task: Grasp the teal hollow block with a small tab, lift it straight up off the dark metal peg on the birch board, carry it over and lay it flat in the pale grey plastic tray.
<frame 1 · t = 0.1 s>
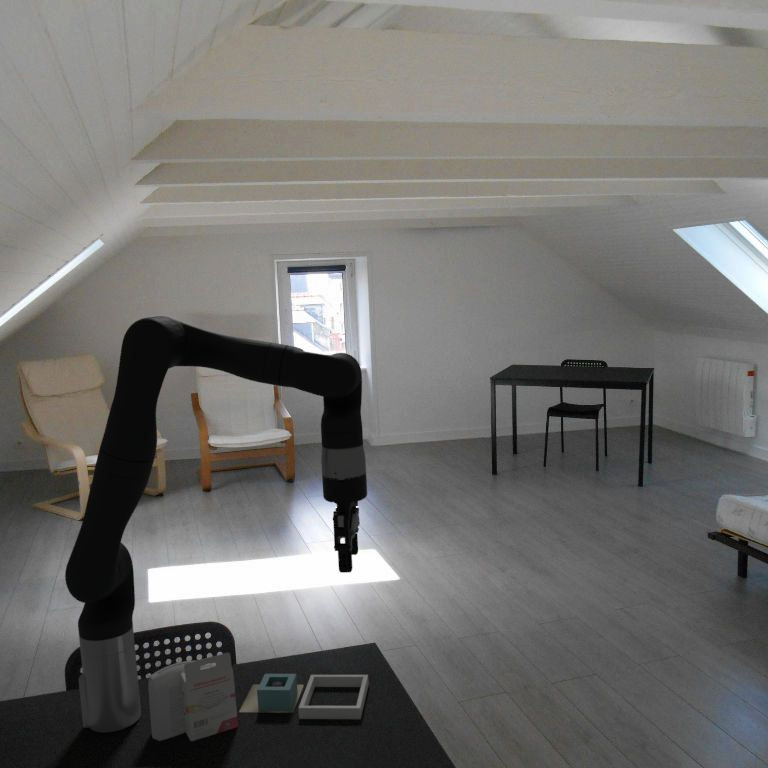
hand: (349, 562, 138), 29 cm above the table, tool pointing down, fingers open, 8 cm apart
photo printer: (181, 732, 141), on the table, touching ink cartridge box
teal hollow block: (278, 702, 147), point 1 cm above the table, touching peg board
ink cartridge box: (211, 733, 140), on the table, touching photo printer
tray: (335, 706, 147), on the table
peg board: (272, 703, 149), on the table
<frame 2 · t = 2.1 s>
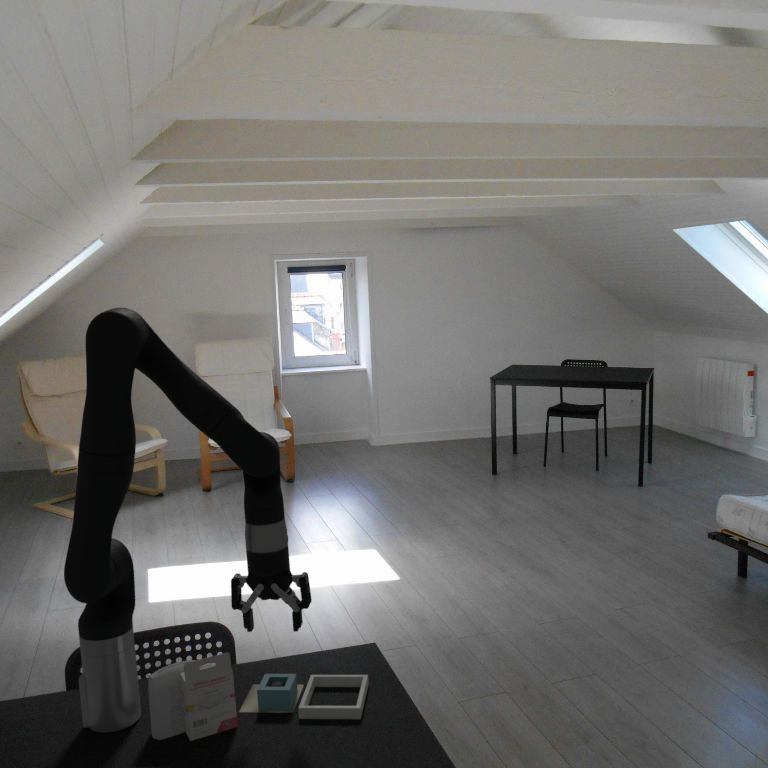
hand: (273, 630, 146), 15 cm above the table, tool pointing down, fingers open, 8 cm apart
nothing on the table moved.
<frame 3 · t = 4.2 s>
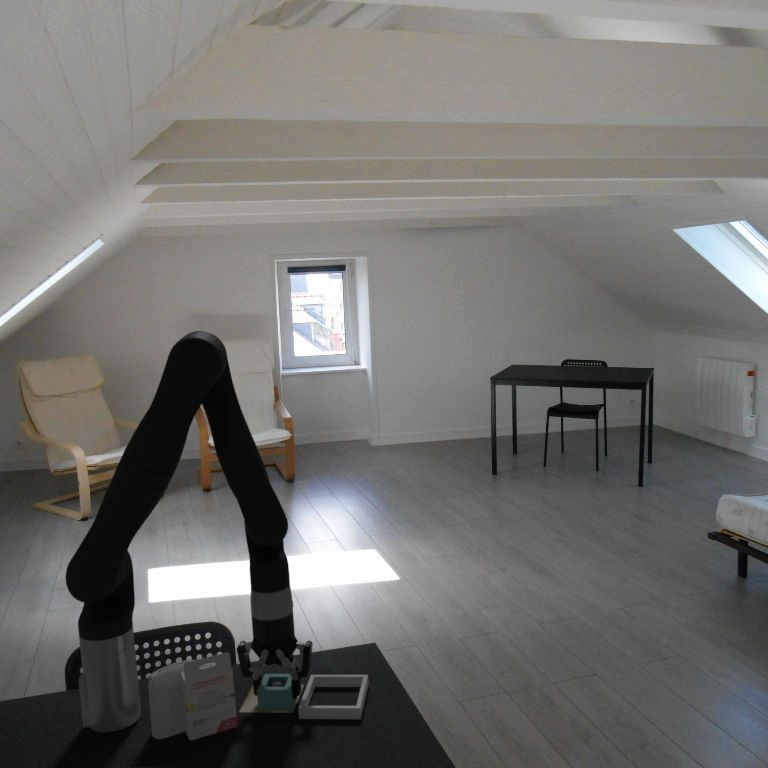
hand: (278, 696, 147), 2 cm above the table, tool pointing down, fingers closed on teal hollow block, 6 cm apart
teal hollow block: (278, 702, 147), point 1 cm above the table, touching gripper, peg board
everything else where it was.
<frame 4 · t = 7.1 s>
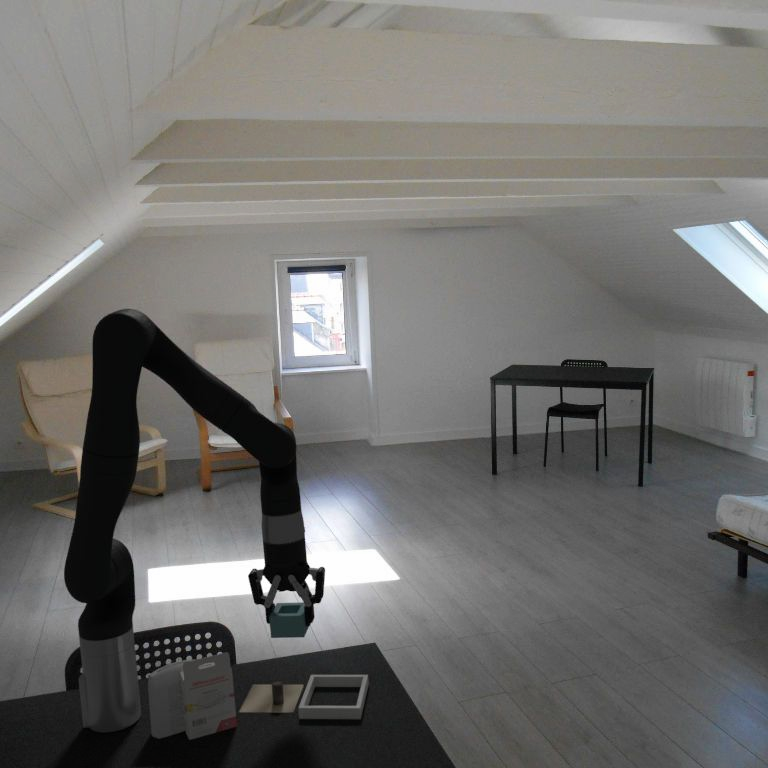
hand: (291, 624, 145), 16 cm above the table, tool pointing down, fingers closed on teal hollow block, 6 cm apart
teal hollow block: (291, 630, 145), point 15 cm above the table, touching gripper
everything else where it was.
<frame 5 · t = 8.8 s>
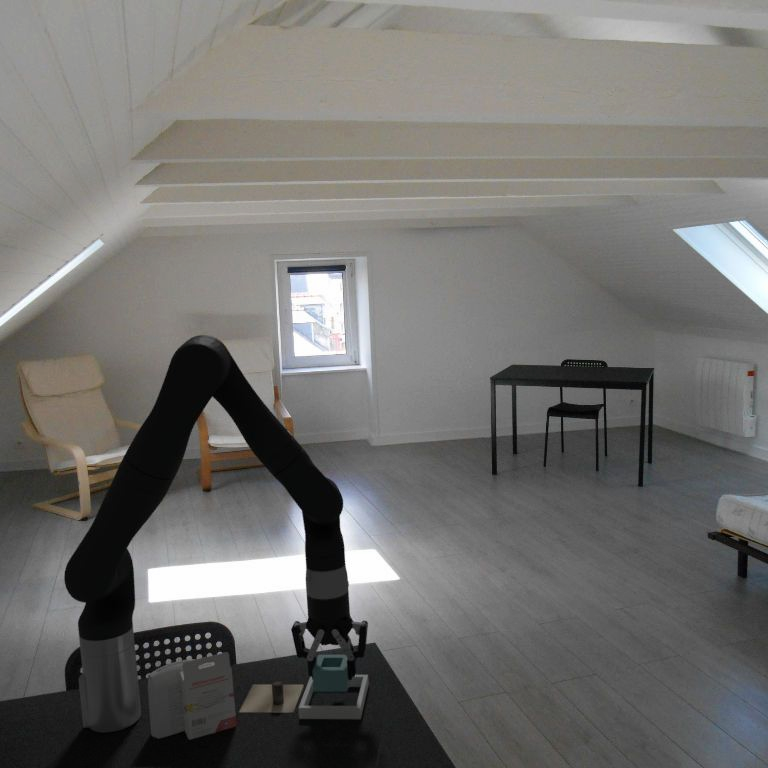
hand: (333, 677, 145), 6 cm above the table, tool pointing down, fingers closed on teal hollow block, 6 cm apart
teal hollow block: (333, 683, 145), point 5 cm above the table, touching gripper
everything else where it was.
when the fingers open (3 cm above the table, at t = 10.2 s): teal hollow block drops 1 cm, resting on tray.
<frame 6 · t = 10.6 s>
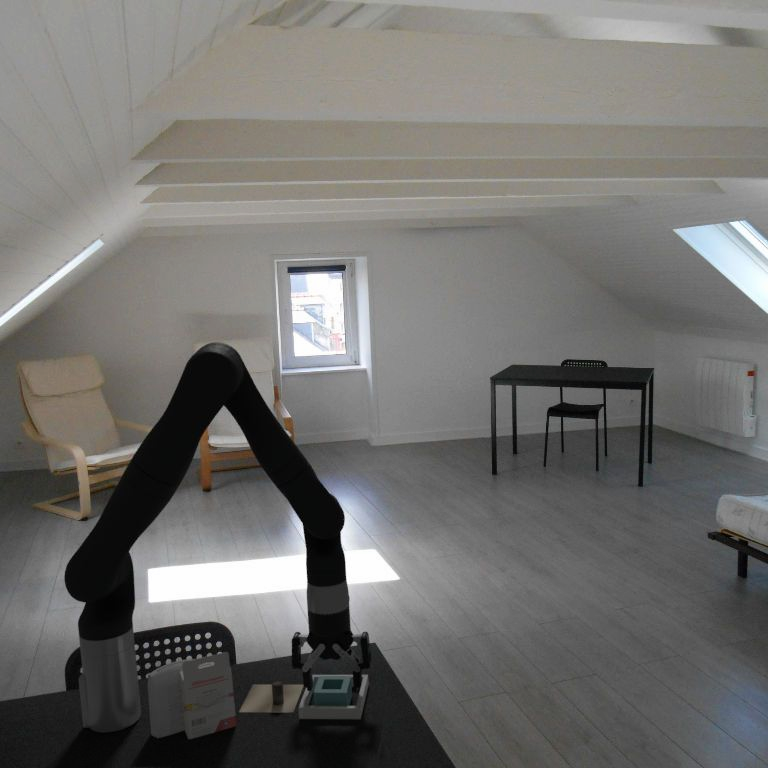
hand: (333, 688, 145), 4 cm above the table, tool pointing down, fingers open, 8 cm apart
teal hollow block: (333, 704, 146), point 1 cm above the table, touching tray
everything else where it was.
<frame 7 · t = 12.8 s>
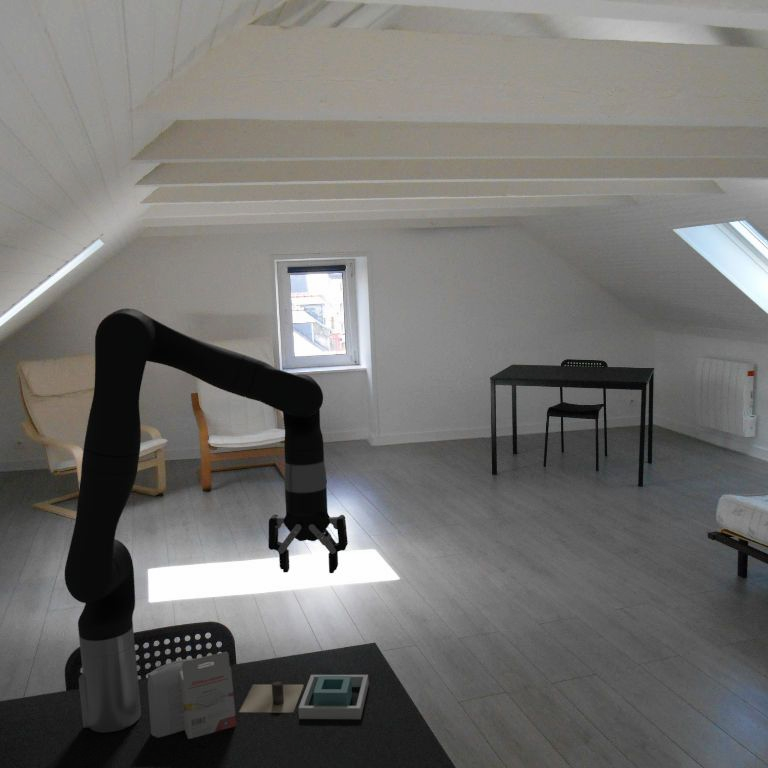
hand: (309, 571, 147), 25 cm above the table, tool pointing down, fingers open, 8 cm apart
nothing on the table moved.
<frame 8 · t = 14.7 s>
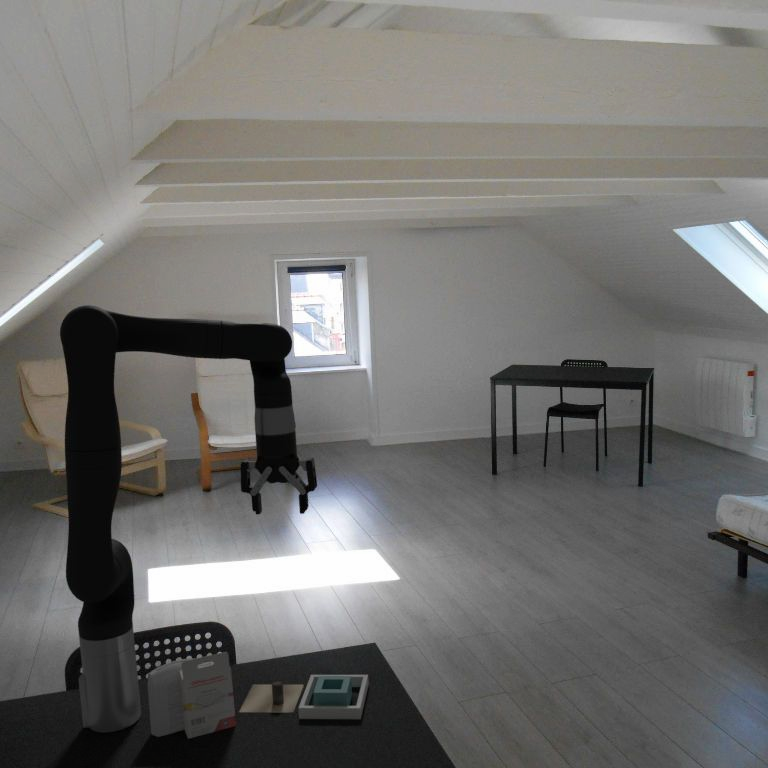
hand: (280, 513, 153), 34 cm above the table, tool pointing down, fingers open, 8 cm apart
at the end: teal hollow block inside the target area on the tray (0.5 cm from its centre), point 0.8 cm above the tray's base; teal hollow block tilted 0°; the gripper is holding nothing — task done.
